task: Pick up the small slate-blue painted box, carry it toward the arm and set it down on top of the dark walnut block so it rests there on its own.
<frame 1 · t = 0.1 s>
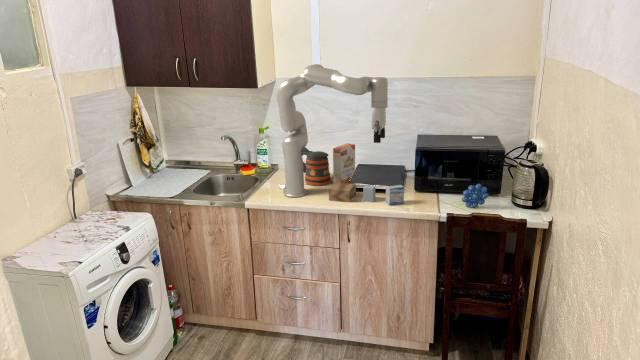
hand: (379, 140, 225), 31 cm above the countertop, tool pointing down, fingers open, 9 cm apart
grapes: (474, 207, 223), on the countertop
slate box: (369, 200, 236), on the countertop
beer stein: (314, 182, 267), on the countertop
walnut block: (342, 197, 241), on the countertop
medicine box: (394, 203, 231), on the countertop
cracker box: (344, 182, 264), on the countertop
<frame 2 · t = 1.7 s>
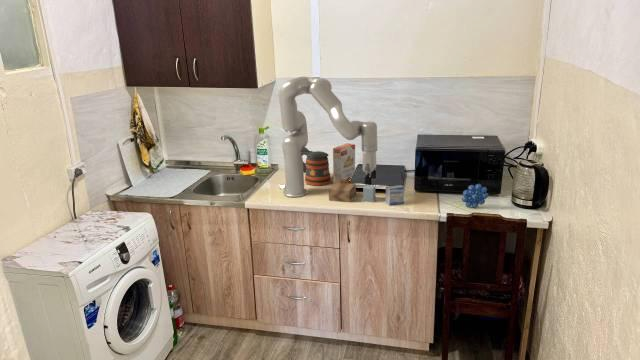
hand: (370, 181, 233), 10 cm above the countertop, tool pointing down, fingers open, 9 cm apart
nothing on the countertop moved.
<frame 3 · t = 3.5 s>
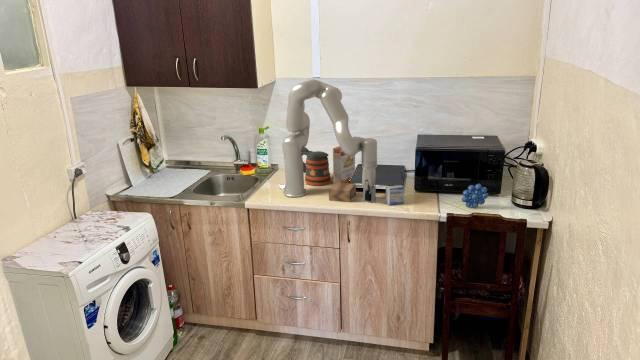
hand: (369, 198, 236), 1 cm above the countertop, tool pointing down, fingers closed on slate box, 5 cm apart
slate box: (369, 200, 236), on the countertop, touching gripper
everything else where it was.
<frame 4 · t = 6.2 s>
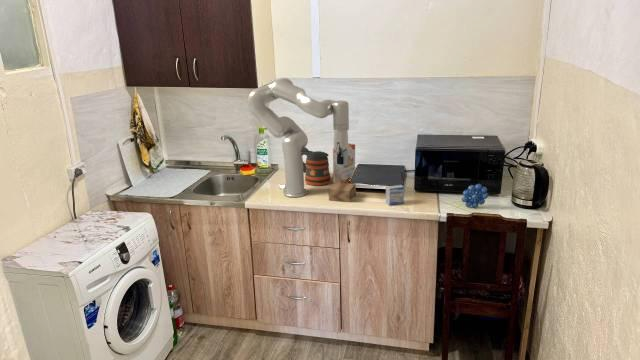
hand: (341, 162, 235), 19 cm above the countertop, tool pointing down, fingers closed on slate box, 5 cm apart
slate box: (342, 163, 235), point 18 cm above the countertop, touching gripper
everything else where it was.
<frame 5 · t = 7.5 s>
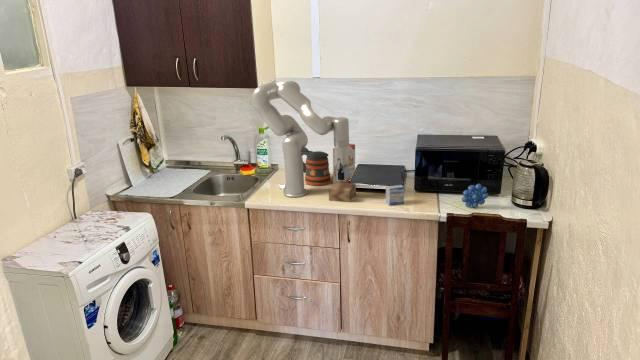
hand: (342, 177, 238), 11 cm above the countertop, tool pointing down, fingers closed on slate box, 5 cm apart
slate box: (342, 179, 238), point 10 cm above the countertop, touching gripper
everything else where it was.
when the fingers open (8 cm above the countertop, at t = 8.8 s): slate box drops 1 cm, resting on walnut block.
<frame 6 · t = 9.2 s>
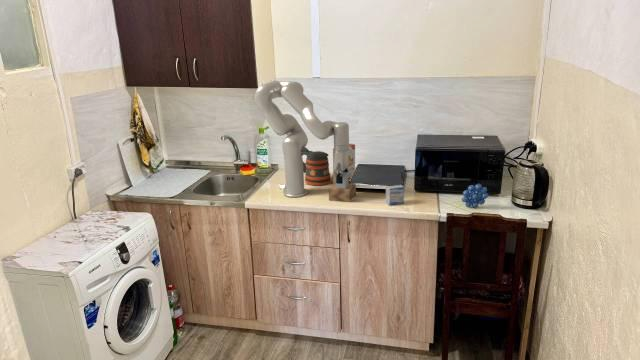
hand: (342, 180, 238), 9 cm above the countertop, tool pointing down, fingers open, 9 cm apart
slate box: (342, 186, 239), point 6 cm above the countertop, touching walnut block
everything else where it was.
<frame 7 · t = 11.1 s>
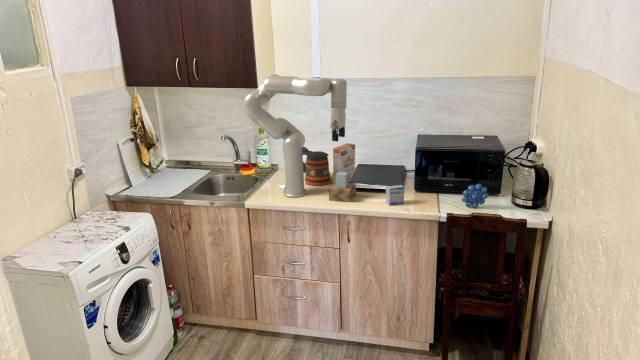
hand: (338, 138, 236), 30 cm above the countertop, tool pointing down, fingers open, 9 cm apart
nothing on the countertop moved.
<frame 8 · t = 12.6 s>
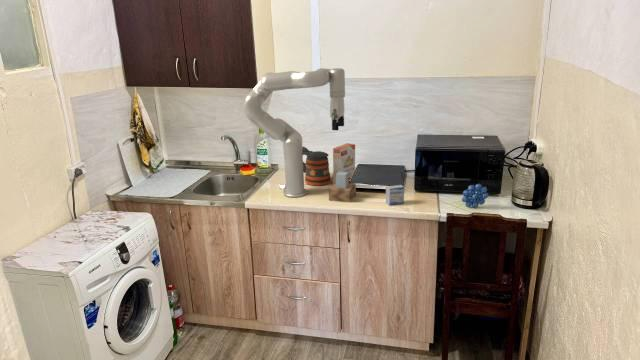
hand: (338, 128, 239), 34 cm above the countertop, tool pointing down, fingers open, 9 cm apart
nothing on the countertop moved.
at the end: slate box inside the target area on the walnut block (0.0 cm from its centre), point 6.0 cm above the walnut block's base; slate box tilted 0°; the gripper is holding nothing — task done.
